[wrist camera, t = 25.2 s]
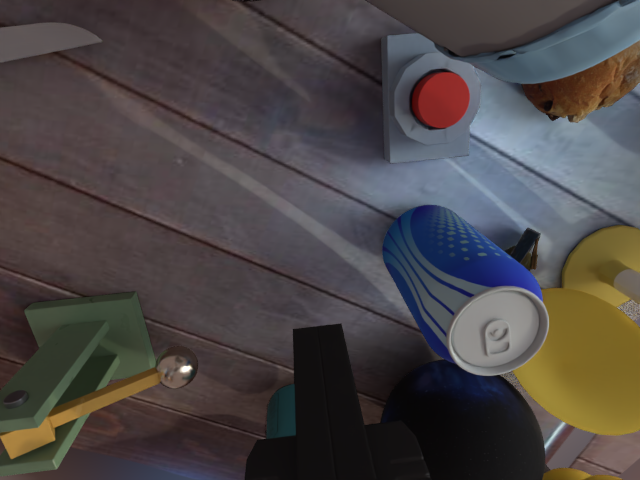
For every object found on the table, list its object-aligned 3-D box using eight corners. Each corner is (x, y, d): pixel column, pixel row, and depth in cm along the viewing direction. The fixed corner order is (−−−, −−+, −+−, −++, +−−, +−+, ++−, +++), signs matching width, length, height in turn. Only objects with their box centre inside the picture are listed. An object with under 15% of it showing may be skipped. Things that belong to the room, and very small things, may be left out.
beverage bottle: (255, 391, 46) (234, 603, 27) (304, 362, 45) (317, 560, 26) (289, 427, 48) (291, 645, 29) (336, 399, 47) (369, 606, 28)
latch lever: (187, 332, 38) (199, 351, 35) (194, 364, 39) (207, 385, 36) (-1, 403, 31) (-6, 434, 28) (16, 439, 32) (13, 472, 29)
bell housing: (380, 38, 34) (392, 33, 30) (463, 30, 34) (485, 24, 30) (384, 159, 37) (394, 167, 34) (459, 151, 38) (478, 159, 34)
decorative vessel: (631, 291, 43) (573, 340, 53) (491, 284, 44) (461, 333, 54) (770, 612, 28) (652, 593, 38) (555, 593, 29) (496, 579, 39)
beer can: (364, 262, 41) (409, 365, 26) (405, 187, 39) (479, 253, 24) (435, 290, 43) (514, 402, 28) (478, 220, 40) (590, 302, 26)
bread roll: (606, 50, 39) (703, -2, 31) (577, 146, 38) (672, 118, 30) (523, -3, 37) (606, -72, 29) (489, 98, 35) (567, 54, 28)
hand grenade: (503, 333, 41) (557, 248, 41) (501, 335, 36) (562, 238, 36) (459, 307, 44) (509, 226, 43) (451, 305, 39) (508, 213, 38)
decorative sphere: (371, 443, 50) (404, 585, 36) (363, 340, 44) (398, 459, 30) (492, 426, 50) (572, 559, 36) (500, 322, 45) (597, 431, 31)
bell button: (411, 75, 32) (417, 74, 30) (462, 70, 32) (471, 69, 30) (411, 128, 33) (417, 130, 31) (459, 123, 33) (468, 125, 32)
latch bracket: (136, 291, 40) (66, 388, 27) (157, 365, 44) (103, 484, 31) (32, 302, 40) (-88, 407, 27) (61, 377, 43) (-34, 501, 30)
